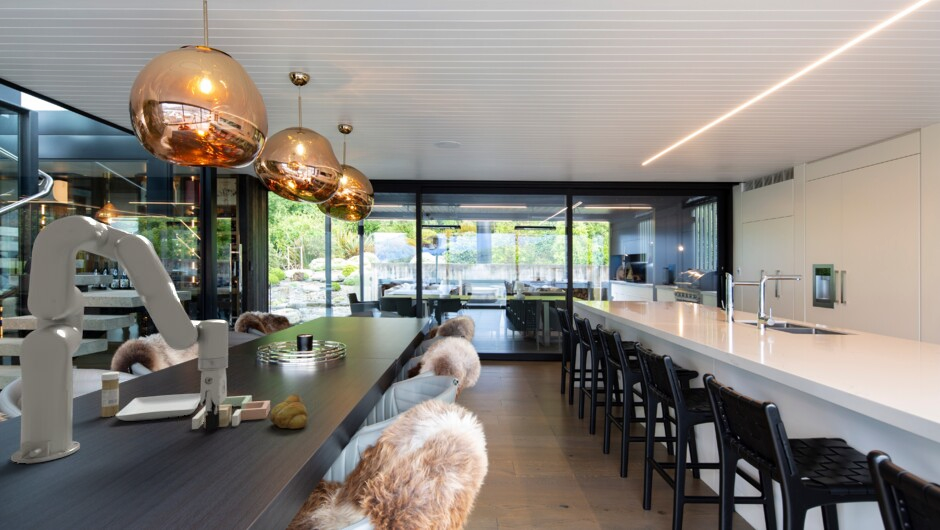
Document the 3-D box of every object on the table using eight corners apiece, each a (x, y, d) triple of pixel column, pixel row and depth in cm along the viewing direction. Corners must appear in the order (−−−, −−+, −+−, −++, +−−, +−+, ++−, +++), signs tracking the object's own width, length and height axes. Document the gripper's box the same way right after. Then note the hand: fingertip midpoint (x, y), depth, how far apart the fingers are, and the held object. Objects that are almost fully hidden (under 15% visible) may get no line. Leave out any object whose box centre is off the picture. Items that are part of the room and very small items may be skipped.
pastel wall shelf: (263, 423, 141) (263, 413, 141) (191, 429, 135) (192, 418, 136) (273, 402, 164) (273, 393, 164) (213, 406, 159) (213, 397, 159)
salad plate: (195, 418, 147) (195, 407, 147) (113, 426, 139) (113, 414, 140) (205, 401, 167) (205, 391, 167) (134, 407, 159) (134, 397, 159)
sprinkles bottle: (118, 412, 152) (119, 370, 153) (119, 415, 149) (120, 373, 149) (100, 415, 149) (101, 372, 150) (100, 418, 146) (101, 374, 146)
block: (226, 426, 138) (226, 409, 138) (203, 428, 137) (204, 411, 137) (231, 420, 144) (231, 404, 144) (209, 422, 143) (209, 405, 143)
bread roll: (313, 427, 137) (314, 400, 137) (279, 435, 131) (279, 406, 131) (298, 417, 147) (298, 391, 147) (265, 423, 141) (266, 396, 141)
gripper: (221, 367, 128) (220, 435, 128) (233, 358, 143) (232, 419, 142) (190, 368, 126) (189, 437, 126) (205, 359, 141) (205, 421, 140)
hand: (212, 427), depth 134 cm, fingers closed
